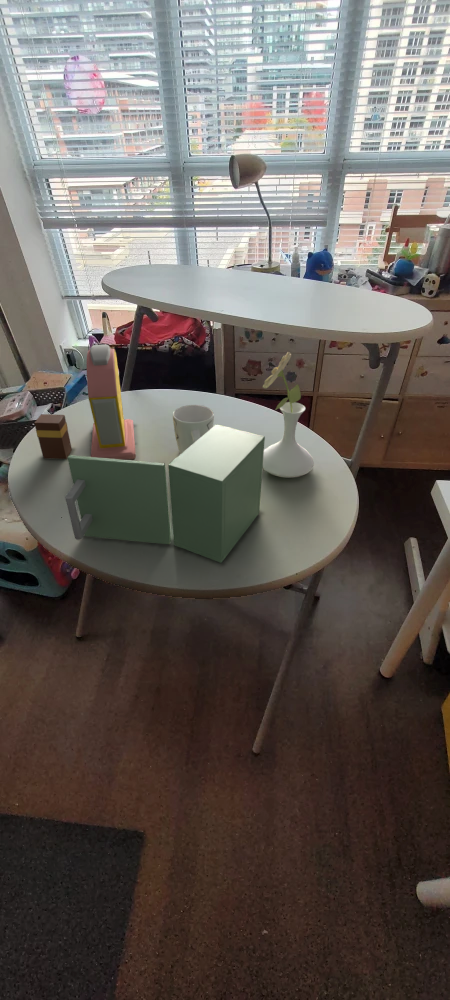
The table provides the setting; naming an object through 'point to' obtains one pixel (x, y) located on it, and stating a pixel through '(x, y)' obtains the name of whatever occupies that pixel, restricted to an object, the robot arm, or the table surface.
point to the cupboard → (216, 490)
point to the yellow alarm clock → (108, 407)
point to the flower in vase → (287, 434)
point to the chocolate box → (53, 436)
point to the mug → (191, 424)
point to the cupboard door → (119, 499)
